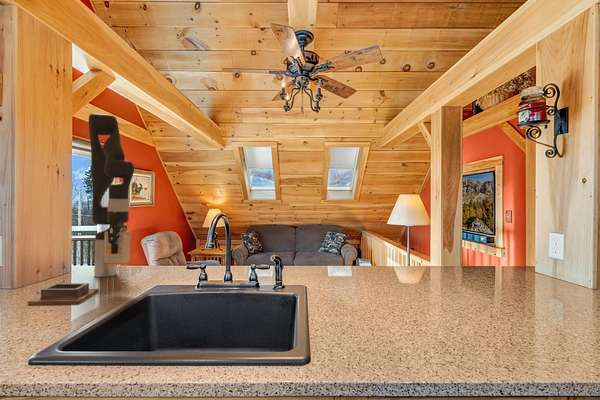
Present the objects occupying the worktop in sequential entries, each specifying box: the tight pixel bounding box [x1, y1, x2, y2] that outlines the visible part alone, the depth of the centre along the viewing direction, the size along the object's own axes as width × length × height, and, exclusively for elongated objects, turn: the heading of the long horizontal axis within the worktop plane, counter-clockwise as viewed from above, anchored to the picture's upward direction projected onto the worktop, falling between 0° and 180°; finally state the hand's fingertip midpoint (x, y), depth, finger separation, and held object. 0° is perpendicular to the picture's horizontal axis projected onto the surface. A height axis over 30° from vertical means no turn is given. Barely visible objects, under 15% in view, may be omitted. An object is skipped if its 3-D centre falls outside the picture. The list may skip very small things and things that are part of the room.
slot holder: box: [27, 282, 99, 306], centre depth 128 cm, size 16×16×4 cm
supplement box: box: [104, 230, 131, 266], centre depth 139 cm, size 8×5×13 cm, turn 85°
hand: (117, 252), depth 139 cm, fingers closed on supplement box, 5 cm apart
